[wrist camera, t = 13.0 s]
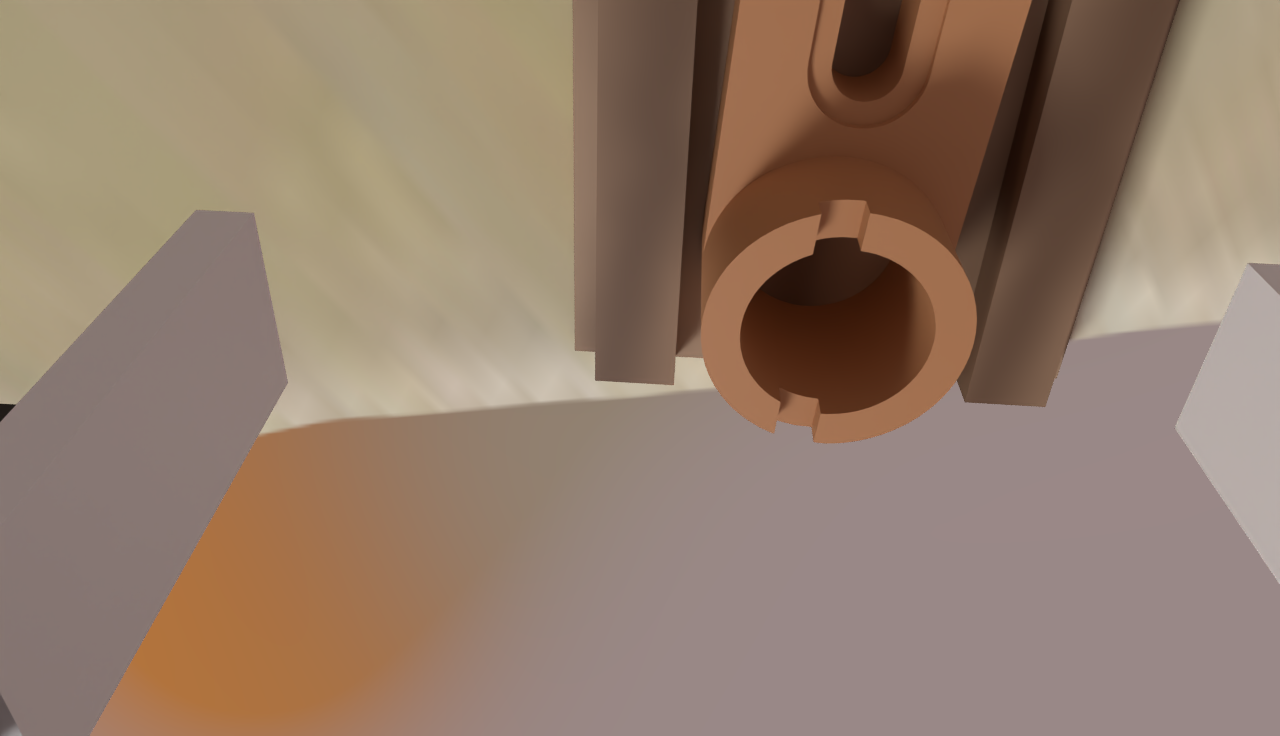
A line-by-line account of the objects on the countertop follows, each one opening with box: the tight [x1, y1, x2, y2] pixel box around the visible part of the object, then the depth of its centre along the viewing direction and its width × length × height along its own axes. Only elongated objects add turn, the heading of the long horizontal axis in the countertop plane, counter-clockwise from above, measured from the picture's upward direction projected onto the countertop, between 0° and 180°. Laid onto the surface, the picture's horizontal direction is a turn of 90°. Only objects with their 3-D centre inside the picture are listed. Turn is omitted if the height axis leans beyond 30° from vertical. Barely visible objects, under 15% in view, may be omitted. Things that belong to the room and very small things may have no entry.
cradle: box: [573, 0, 1180, 407], centre depth 32 cm, size 19×22×3 cm
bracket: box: [701, 0, 1032, 443], centre depth 30 cm, size 18×8×7 cm, turn 175°
